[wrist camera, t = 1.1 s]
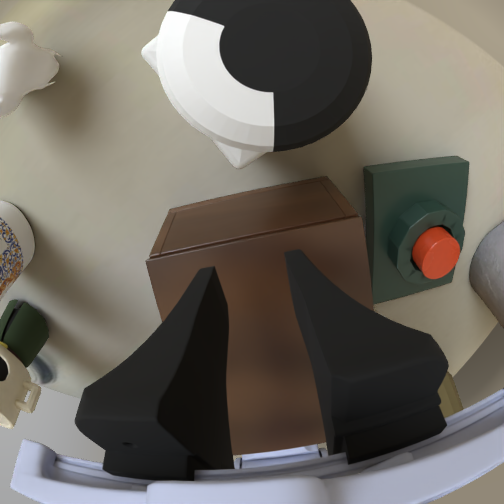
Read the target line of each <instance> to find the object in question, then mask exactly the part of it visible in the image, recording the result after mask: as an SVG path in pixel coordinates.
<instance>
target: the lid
mask: <svg viewBox="0 0 504 504" xmlns="http://www.w3.org/2000/svg"><path fill="white" fill-rule="evenodd" d="M297 249H300V250H302V251H303V252H304V254H305V255H306V256H307V257H308V258H309V260H310V261H311V262H312V263H313V264H314V265H315V266H316V267H317V268H318V269H319V270H320V271H321V272H322V273H323V274H324V275H325V276H326V277H327V278H328V279H329V280H330V281H331V282H333V283H334V284H335V285H336V286H337V287H339V288H340V289H341V290H342V291H343V292H345V293H346V294H347V295H349V296H350V297H351V298H353V299H354V300H356V301H357V302H359V303H360V304H362V305H364V306H365V307H367V308H368V309H370V310H372V311H374V309H373V297H372V287H371V278H370V270H369V261H368V254H367V247H366V240H365V233H364V227H363V221H362V217H360V216H357V217H351V218H346V219H341V220H336V221H330V222H325V223H320V224H315V225H310V226H305V227H300V228H294V229H289V230H284V231H279V232H274V233H269V234H264V235H259V236H254V237H250V238H245V239H240V240H235V241H230V242H225V243H220V244H215V245H211V246H206V247H201V248H196V249H191V250H187V251H182V252H177V253H173V254H168V255H163V256H159V257H154V258H149V259H147V260H146V265H147V269H148V273H149V276H150V280H151V284H152V288H153V291H154V295H155V299H156V302H157V306H158V309H159V312H160V316H161V319H162V322H163V321H164V320H165V319H166V317H167V316H168V315H169V313H170V312H171V311H172V309H173V308H174V307H175V305H176V304H177V302H178V301H179V299H180V298H181V296H182V295H183V294H184V292H185V290H186V289H187V287H188V286H189V284H190V283H191V281H192V280H193V278H194V276H195V275H196V273H197V272H198V270H199V269H201V268H206V267H211V266H215V268H216V271H217V274H218V277H219V280H220V283H221V286H222V289H223V292H224V295H225V298H226V301H227V304H228V313H229V341H228V356H227V372H226V388H227V404H228V417H229V428H230V437H231V446H232V453H233V455H245V454H255V453H264V452H272V451H280V450H286V449H293V448H299V447H304V446H310V445H315V444H320V443H324V442H326V437H325V432H324V426H323V420H322V415H321V409H320V404H319V399H318V394H317V389H316V384H315V379H314V374H313V369H312V365H311V362H310V358H309V355H308V352H307V349H306V346H305V343H304V340H303V337H302V334H301V331H300V328H299V324H298V321H297V318H296V315H295V311H294V306H293V301H292V297H291V292H290V286H289V280H288V274H287V268H286V262H285V256H284V252H287V251H292V250H297Z"/></svg>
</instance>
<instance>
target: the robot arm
mask: <svg viewBox="0 0 504 504" xmlns="http://www.w3.org/2000/svg"><path fill="white" fill-rule="evenodd" d="M284 256H285V262H286V268H287V274H288V280H289V286H290V292H291V297H292V301H293V306H294V311H295V315H296V318H297V321H298V324H299V328H300V331H301V334H302V337H303V340H304V343H305V346H306V349H307V352H308V355H309V358H310V362H311V365H312V369H313V374H314V379H315V384H316V389H317V394H318V399H319V404H320V409H321V415H322V420H323V426H324V432H325V437H326V443H327V449H328V450H326V449H325V448H319V449H318V444H315V445H310V446H304V447H299V448H293V449H286V450H280V451H272V452H264V453H255V454H245V455H242V458H236V459H235V461H234V460H233V453H232V446H231V437H230V428H229V417H228V404H227V388H226V372H227V356H228V341H229V313H228V304H227V301H226V298H225V295H224V292H223V289H222V286H221V283H220V280H219V277H218V274H217V271H216V268H215V266H211V267H206V268H201V269H199V270H198V272H197V273H196V275H195V276H194V278H193V280H192V281H191V283H190V284H189V286H188V287H187V289H186V290H185V292H184V294H183V295H182V296H181V298H180V299H179V301H178V302H177V304H176V305H175V307H174V308H173V309H172V311H171V312H170V313H169V315H168V316H167V317H166V319H165V320H164V321H163V322H162V324H161V325H160V326H159V327H158V328H157V330H156V331H155V332H154V333H153V334H152V335H151V336H150V337H149V338H148V339H147V340H146V341H145V342H144V343H143V344H142V345H141V346H140V347H139V348H138V349H137V350H136V351H135V352H134V353H133V354H132V355H131V356H129V357H128V358H127V359H126V360H125V361H123V362H122V363H121V364H120V365H118V366H117V367H116V368H114V369H113V370H112V371H111V372H109V373H108V374H106V375H105V376H103V377H102V378H100V379H99V380H97V381H96V382H94V383H93V384H91V385H89V386H88V387H86V388H85V389H84V391H83V394H82V398H81V401H80V404H79V407H78V411H77V414H76V418H75V424H76V426H77V427H78V429H79V430H80V431H81V432H82V433H83V434H84V435H85V436H86V437H88V438H89V439H90V440H92V441H93V442H95V443H96V444H98V445H99V446H100V447H102V448H103V449H104V450H106V452H105V457H104V462H103V463H100V462H94V461H89V460H83V459H79V458H74V457H69V456H65V455H60V454H56V453H55V451H53V450H52V449H50V448H49V447H47V446H45V445H43V444H41V443H38V442H34V441H31V440H27V439H23V441H22V444H21V447H20V451H19V454H18V458H17V461H16V465H15V469H14V473H13V477H12V481H11V485H10V487H11V489H13V490H15V491H17V492H19V493H21V494H23V495H25V496H27V497H29V498H31V499H33V500H35V501H37V502H39V503H41V504H427V503H429V502H431V501H434V500H436V499H438V498H440V497H442V496H444V495H446V494H449V493H451V492H453V491H455V490H457V489H458V488H461V487H462V486H464V485H466V484H468V483H469V482H472V481H473V480H475V479H477V478H479V477H480V476H482V475H484V474H485V473H487V472H489V471H490V470H492V469H493V468H495V467H496V466H498V465H500V464H501V463H503V462H504V388H503V389H501V390H499V391H497V392H496V393H494V394H492V395H490V396H489V397H487V398H485V399H483V400H481V401H479V402H478V403H475V404H474V405H472V406H470V407H468V408H466V409H464V410H461V411H459V412H457V413H455V414H453V415H451V416H449V417H446V418H444V416H443V413H442V411H441V409H440V406H439V405H440V404H441V398H440V396H439V394H438V389H439V387H440V385H441V384H442V382H443V380H444V378H445V376H446V373H447V370H448V367H449V366H448V361H447V359H446V357H445V355H444V353H443V351H442V350H441V348H440V347H439V345H438V344H437V343H436V341H435V340H434V339H433V337H432V336H431V335H430V334H427V333H424V332H421V331H418V330H415V329H412V328H409V327H406V326H404V325H401V324H399V323H397V322H394V321H392V320H390V319H388V318H385V317H383V316H382V315H380V314H378V313H376V312H374V311H372V310H370V309H368V308H367V307H365V306H364V305H362V304H360V303H359V302H357V301H356V300H354V299H353V298H351V297H350V296H349V295H347V294H346V293H345V292H343V291H342V290H341V289H340V288H339V287H337V286H336V285H335V284H334V283H333V282H331V281H330V280H329V279H328V278H327V277H326V276H325V275H324V274H323V273H322V272H321V271H320V270H319V269H318V268H317V267H316V266H315V265H314V264H313V263H312V262H311V261H310V260H309V258H308V257H307V256H306V255H305V254H304V252H303V251H302V250H300V249H297V250H292V251H287V252H284ZM358 473H359V474H358Z"/></svg>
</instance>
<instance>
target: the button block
mask: <svg viewBox="0 0 504 504" xmlns="http://www.w3.org/2000/svg"><path fill="white" fill-rule="evenodd" d="M468 174H469V162H468V161H466V160H464V159H462V158H460V157H459V156H450V157H439V158H429V159H420V160H411V161H402V162H394V163H387V164H379V165H372V166H365V167H364V182H365V203H366V247H367V254H368V261H369V270H370V278H371V287H372V297H373V304H377V303H381V302H385V301H389V300H392V299H396V298H400V297H403V296H407V295H411V294H414V293H418V292H421V291H424V290H428V289H431V288H435V287H438V286H441V285H444V284H448V283H451V282H452V278H453V274H454V270H455V266H454V267H453V269H452V270H451V271H450V272H449V273H447V274H446V275H445V276H443V277H441V278H438V279H429V278H427V277H426V276H425V275H424V274H423V273H422V271H421V270H420V269H419V268H418V266H417V265H416V264H415V262H414V260H413V257H412V251H413V247H414V244H415V242H416V240H417V239H418V237H419V236H420V235H421V234H422V233H423V232H425V231H426V230H427V229H429V228H432V227H441V228H444V229H445V230H446V231H447V232H448V233H449V234H450V235H451V236H452V237H453V238H454V239H455V240H456V241H457V242H458V244H459V246H460V253H461V250H462V247H463V241H464V236H465V231H464V228H463V221H464V213H465V205H466V197H467V186H468ZM455 265H456V264H455Z"/></svg>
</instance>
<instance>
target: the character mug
mask: <svg viewBox="0 0 504 504" xmlns="http://www.w3.org/2000/svg"><path fill="white" fill-rule="evenodd" d="M17 302H18V300H12V301H10V302H9V304H8V305H7V307H6V309H5V311H4V313H3V315H2V317H1V319H0V425H1V426H3V427H6V428H10V429H12V428H13V427H14V425H15V423H16V421H17V418H18V415H19V412H20V410H22V411H25V412H27V413H32V412H33V411H34V410H35V407H36V404H37V402H38V399H39V396H40V394H41V387H40V386H38V385H37V384H34V383H32V382H31V377H30V374H29V372H28V370H27V369H26V368H27V367H28V366H29V365H30V364H31V363H32V361H33V360H34V358H35V357H36V355H37V354H38V353H39V351H40V350H41V348H42V347H43V346H44V344H45V342H46V341H47V339H48V338H49V330H48V327H47V325H46V322H45V319H44V318H43V317H42V316H41V315H40V313H39V312H38V311H37V310H36V309H35V308H33V307H32V306H30V305H29V304H27V303H25V302H24V303H23V305H22V306H21V308H20V309H19V308H14V307H15V305H16V303H17ZM28 390H29V391H31V393H30V396H29V398H28V401H27V402H24V400H25V397H26V395H27V392H28Z"/></svg>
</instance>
